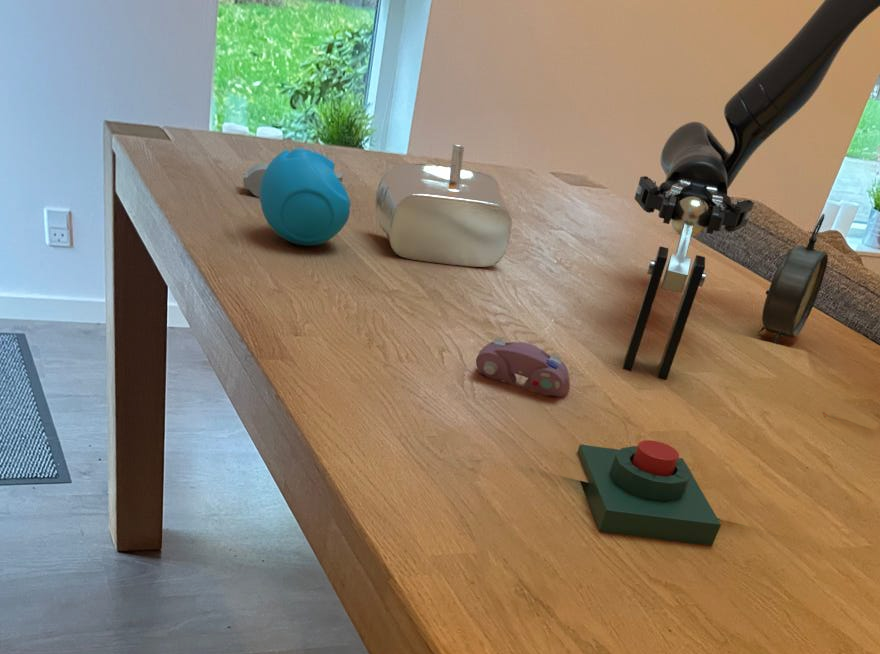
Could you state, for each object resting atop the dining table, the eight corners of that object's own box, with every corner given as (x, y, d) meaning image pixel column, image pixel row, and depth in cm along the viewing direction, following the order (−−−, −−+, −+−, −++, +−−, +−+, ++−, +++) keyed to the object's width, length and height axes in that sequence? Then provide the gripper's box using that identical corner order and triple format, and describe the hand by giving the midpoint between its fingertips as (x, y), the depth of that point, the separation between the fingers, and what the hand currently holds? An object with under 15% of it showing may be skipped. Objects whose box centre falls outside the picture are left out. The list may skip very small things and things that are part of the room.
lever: (669, 217, 113) (680, 184, 110) (705, 226, 113) (717, 193, 109) (649, 293, 107) (660, 260, 103) (687, 302, 106) (700, 270, 103)
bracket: (607, 352, 118) (643, 233, 110) (681, 371, 117) (723, 252, 109) (598, 387, 108) (637, 260, 100) (679, 408, 107) (724, 281, 99)
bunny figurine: (243, 155, 150) (342, 157, 151) (245, 191, 153) (341, 193, 154) (242, 170, 142) (346, 172, 144) (244, 207, 145) (345, 209, 147)
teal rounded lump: (359, 256, 132) (372, 163, 125) (287, 260, 126) (296, 162, 119) (311, 227, 139) (320, 138, 132) (240, 230, 133) (246, 136, 126)
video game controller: (468, 396, 104) (471, 348, 98) (484, 366, 106) (488, 317, 100) (557, 424, 102) (566, 377, 96) (571, 393, 104) (581, 345, 98)
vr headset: (490, 248, 146) (513, 142, 137) (508, 274, 137) (534, 162, 128) (370, 232, 142) (386, 122, 133) (381, 257, 133) (399, 141, 124)
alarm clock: (781, 355, 128) (834, 225, 119) (742, 341, 130) (791, 213, 120) (802, 337, 136) (853, 214, 126) (764, 324, 138) (812, 202, 128)
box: (573, 465, 92) (584, 425, 89) (675, 478, 93) (689, 440, 90) (598, 532, 82) (612, 490, 80) (712, 546, 83) (729, 505, 81)
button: (627, 455, 86) (633, 437, 85) (666, 461, 87) (673, 443, 86) (637, 475, 84) (643, 456, 83) (677, 480, 84) (684, 462, 83)
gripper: (647, 141, 120) (637, 167, 106) (764, 168, 118) (769, 198, 105) (629, 206, 124) (617, 239, 111) (741, 232, 123) (743, 269, 109)
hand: (691, 219), depth 108 cm, fingers closed on lever, 4 cm apart
